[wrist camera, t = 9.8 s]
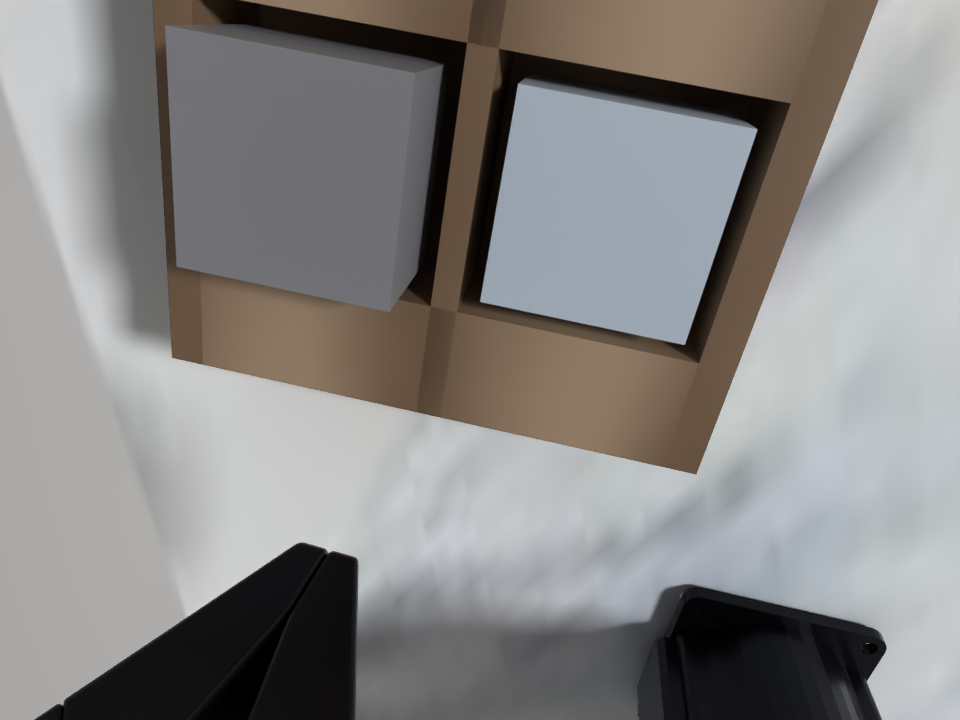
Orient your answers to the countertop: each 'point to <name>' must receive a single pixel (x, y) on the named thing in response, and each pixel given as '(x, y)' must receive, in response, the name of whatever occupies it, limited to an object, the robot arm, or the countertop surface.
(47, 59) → the countertop surface
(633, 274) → the key
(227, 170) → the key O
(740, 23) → the wooden sorting tray
